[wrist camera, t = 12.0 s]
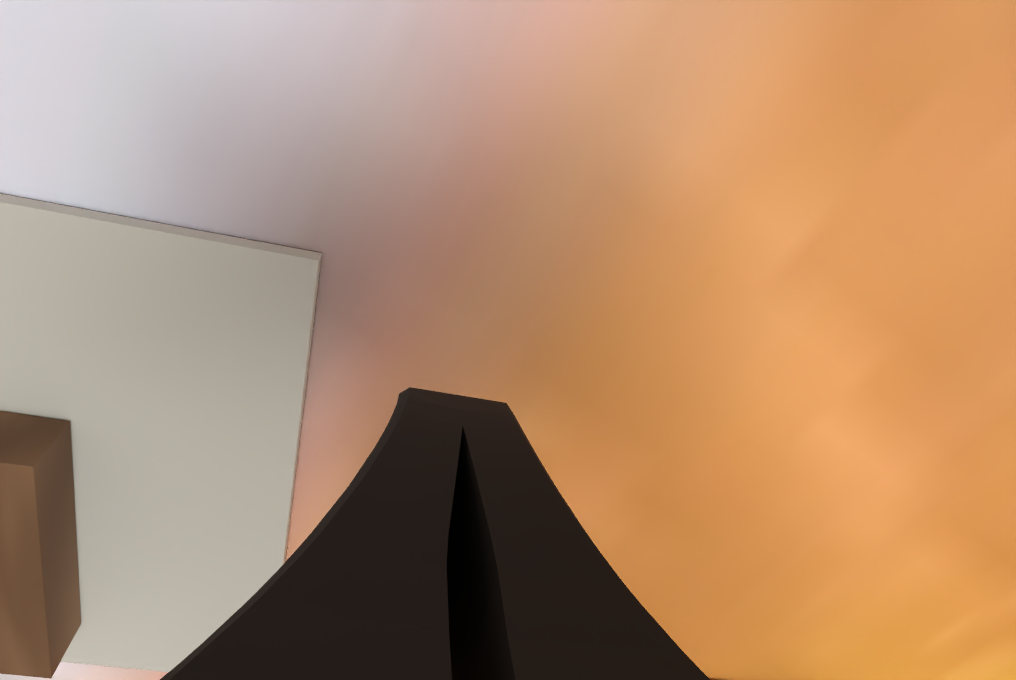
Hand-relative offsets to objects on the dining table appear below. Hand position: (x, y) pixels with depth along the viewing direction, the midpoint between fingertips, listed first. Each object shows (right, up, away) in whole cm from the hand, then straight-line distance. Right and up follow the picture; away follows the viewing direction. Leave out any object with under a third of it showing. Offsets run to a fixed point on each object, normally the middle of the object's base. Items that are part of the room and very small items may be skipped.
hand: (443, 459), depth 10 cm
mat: (-14, -2, +12) cm, 18 cm away
